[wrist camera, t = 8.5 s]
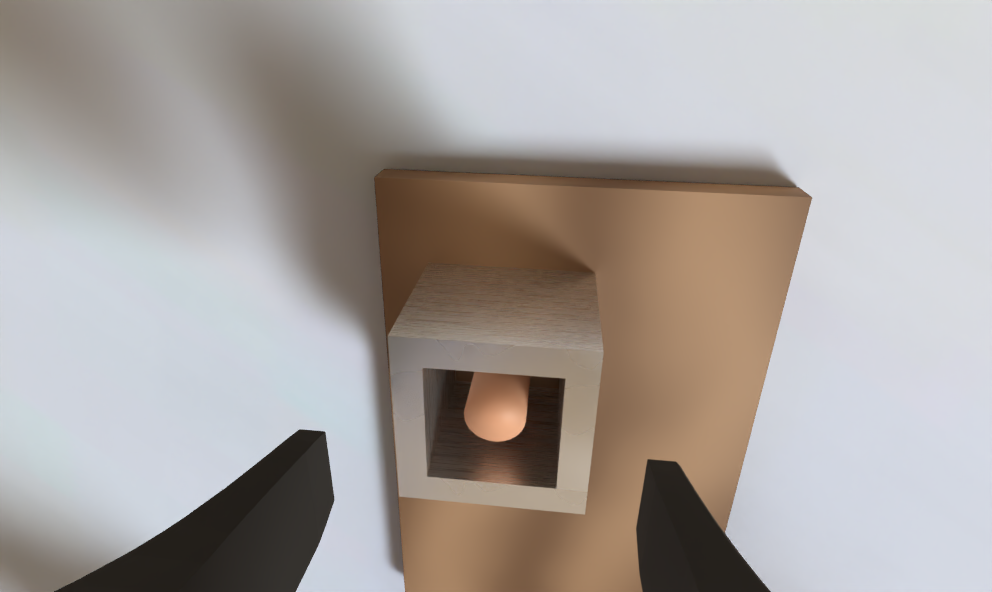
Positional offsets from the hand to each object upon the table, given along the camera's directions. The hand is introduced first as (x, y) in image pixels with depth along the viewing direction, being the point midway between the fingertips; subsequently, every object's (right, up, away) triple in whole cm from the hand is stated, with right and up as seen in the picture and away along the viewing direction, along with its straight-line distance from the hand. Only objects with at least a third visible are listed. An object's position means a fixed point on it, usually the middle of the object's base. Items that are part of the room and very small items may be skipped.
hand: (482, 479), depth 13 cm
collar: (+1, +3, +5) cm, 6 cm away
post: (+1, +3, +6) cm, 7 cm away
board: (+3, -1, +8) cm, 8 cm away
